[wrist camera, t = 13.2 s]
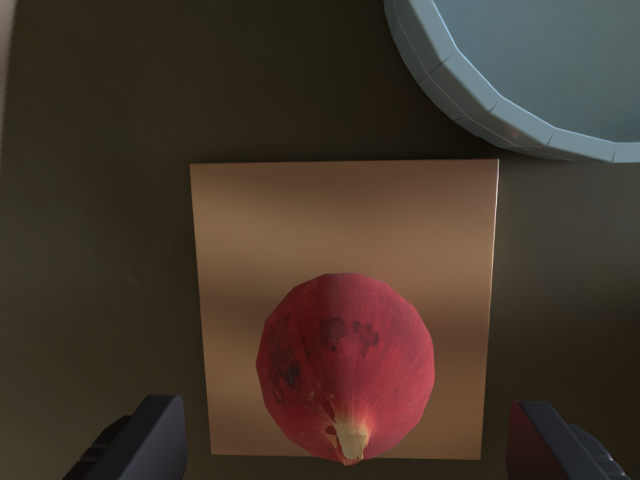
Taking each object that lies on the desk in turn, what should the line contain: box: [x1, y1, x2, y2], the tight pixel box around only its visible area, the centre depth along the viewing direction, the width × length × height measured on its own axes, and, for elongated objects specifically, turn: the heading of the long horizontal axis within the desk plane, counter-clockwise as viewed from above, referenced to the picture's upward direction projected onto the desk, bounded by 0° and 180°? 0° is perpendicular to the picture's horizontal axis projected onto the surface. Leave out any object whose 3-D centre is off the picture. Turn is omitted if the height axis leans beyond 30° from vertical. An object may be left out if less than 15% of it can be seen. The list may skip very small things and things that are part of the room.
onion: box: [255, 273, 435, 465], centre depth 14 cm, size 6×6×8 cm
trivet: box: [189, 158, 499, 460], centre depth 19 cm, size 13×12×1 cm
